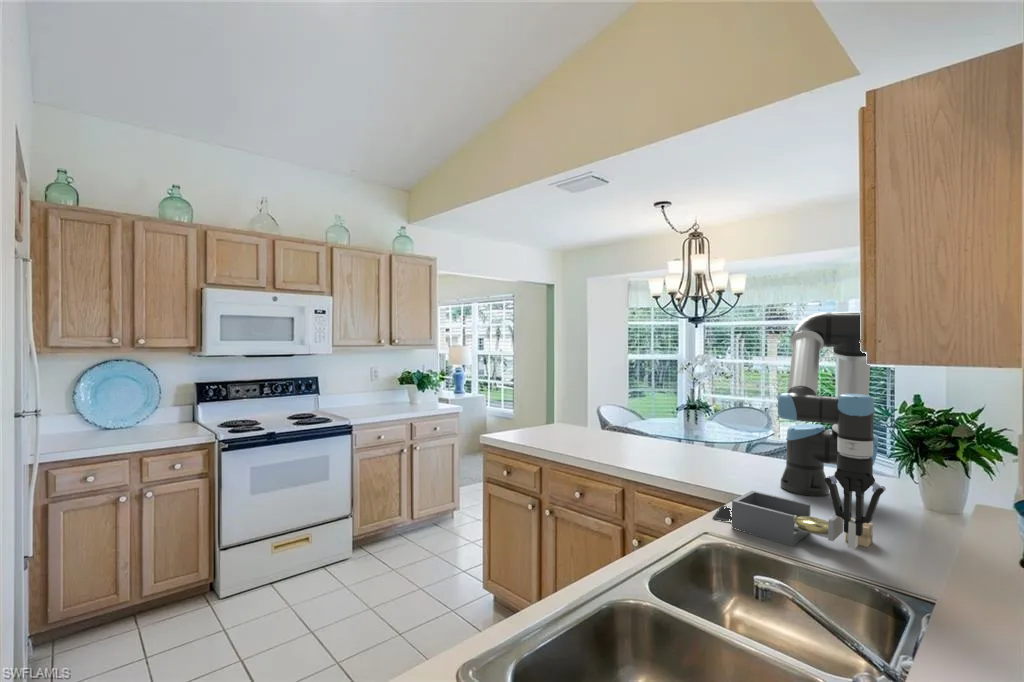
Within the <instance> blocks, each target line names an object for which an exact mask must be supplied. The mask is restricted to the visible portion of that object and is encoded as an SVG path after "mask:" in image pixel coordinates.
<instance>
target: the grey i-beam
mask: <svg viewBox="0 0 1024 682" xmlns="http://www.w3.org/2000/svg"><path fill="white" fill-rule="evenodd" d="M796 518H797V516H796V515H795V520H794V529H796V530H800V531H804V530H802V529H800V528H798V527H797V526H796ZM828 522H829V528H828V533H826V534H817V533H811V532H807V531H804V532H807V533H808V534H811V535H815V536H819V537H823V538H827V540H828V541H831V542H834V541H835V540H836V539H837V538H838V537H840V535H842V533H843V532H844V520H843V518H841V517H838V516H836V514H835V513H834V514H833V515H832V516H831V517H830V518H828Z"/></svg>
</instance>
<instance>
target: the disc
mask: <svg viewBox="0 0 1024 682" xmlns="http://www.w3.org/2000/svg"><path fill="white" fill-rule="evenodd" d="M796 526H797V527H798V528H800V529H802V530H804V531H807V532H811V533H817V534H826V533H828V528H829V521H827V520H825V519H822V518H819V517H814V516H810V517H809V516H800V517H797V518H796ZM811 533H810V534H811Z"/></svg>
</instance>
